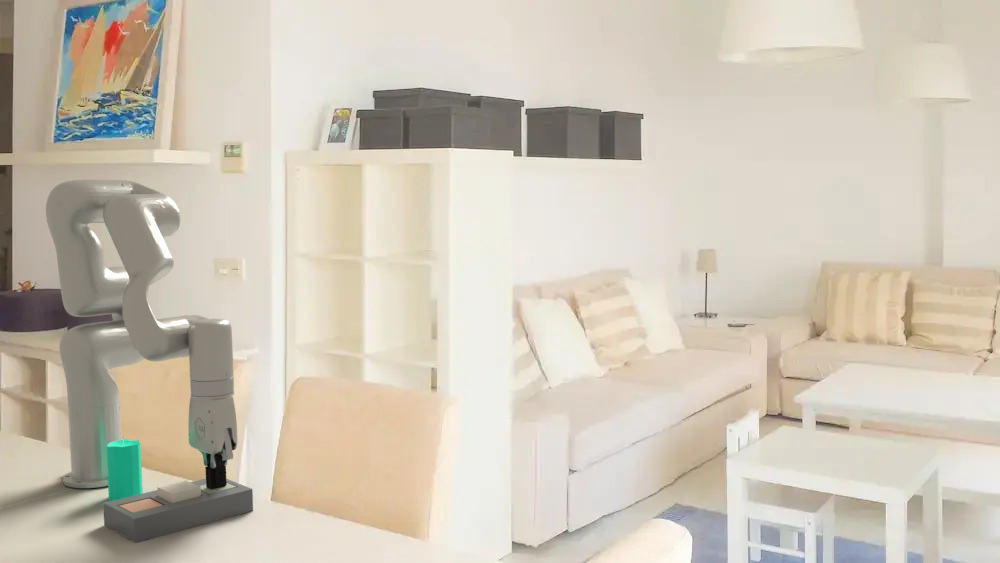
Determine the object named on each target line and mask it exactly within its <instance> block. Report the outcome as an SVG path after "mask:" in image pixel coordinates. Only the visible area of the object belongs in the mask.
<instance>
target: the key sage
mask: <svg viewBox="0 0 1000 563" xmlns="http://www.w3.org/2000/svg"><path fill="white" fill-rule="evenodd" d="M200 487H201V491H202V492H205V493H207V494H212V493H216V492H220V491H224V490H228V489H232V488H236V486H234V485H231V484H229V483H227V485H226V486H225V487H221V488H216V489H210V488H207V487H206V484H205V485H201V486H200Z"/></svg>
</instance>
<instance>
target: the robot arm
mask: <svg viewBox="0 0 1000 563" xmlns="http://www.w3.org/2000/svg"><path fill="white" fill-rule="evenodd" d="M45 218H46V222H47V226H48V229H49V233H50V235H51V238H52V240H53V244H54V248H55V251H56V260H57V270H58V277H59V286H60V294H61V299H62V300H61V301H62V304H63V307H64V309H65V311H66V312H67V314H69V315H70V316H73V317H75V318H76V317H78V318H89V317H97V316H106V315H111V318H112V320H108V321H97V322H90V323H84V324H80V325H77V326H73V327H72V328H70V329H68V330H67V331H66V332H65V333H63V334H62V336H61V338H60V341H59V345H58V346H59V356H60V359H61V363H62V368H63V370H64V371H63V372H64V376H65V377H64V378H65V384H66V394H67V408H68V409H67V410H68V425H69V426H68V427H69V428H68V429H69V449H70V452H69V453H70V469H71V471H70V472H68V473H66V474H65V475H64V476H63V478H62V481H63V485H64V486H66V487H69V488H74V489H97V488H103V487H104V488H105V487H108V469H107V445H108V444H109V443H111V442H114V441H118V440H122V428H121V427H122V422H121V404H120V403H121V402H120V391H119V388H118V385H117V383H116V381H115V380H114V379H113V377H112V376H111V375H110V373H109V372H108V371H109V370H111V369H115V368H122V367H126V366H130V365H135V364H138V363H140V362H142V361H143V360H144V359H145V360H148V361H149V362H163V361H169V360H175V359H179V358H186V357H189V358H188V359H189V381H190V385H189V386H190V387H189V388H190V398H189V399H190V400H189V407H188V444H189V445H190V447H192V448H193V449H195V450H197V451H199V452H200V453H201V455H202V457H203V458H202V459H203V460H202V461H203V465H204V468H205V479H206V487H207V488H210V489H216V488H221V487H225V486H226V485H227V482H226V479H227V465H228V461H229V460H233V459H234V453H233V451H234V450H236V449H237V447H238V436H239V435H238V424H237V414H236V413H237V412H236V407H235V406H236V405H235V400H234V399H235V398H234V395H235V382H234V380H235V379H234V358H233V357H234V356H233V355H234V354H233V330H232V325H231V323H230V322H229V320H226V319H224V318H208V317H205V316H202V315H197V314H189V315H187V314H186V315H180V316H179V315H178V316H173V317H166V318H165V317H164V318H158V319H157V318H156V316H155V314H154V312H153V310H152V308H151V305H150V302H149V296H148V292H149V287H150V286H152V285H153V284H154V283H155V284H156V282H158V281H160V280H161V279H163V278H164V277H166V276H167V275H168V274H169V273H170V272H171V271H172V269H173V268H174V265H175V264H174V258H173V256H172V254H171V252H170V250H169V248H168V246H167V243H166V241H165V240H164V238H167V237H171V236H172V235H174V234H175V233H176V232H178V229H180V224H181V215H180V210H179V208H178V205H177V204H176V203H175V201H174V200H173V199H171V197H170V196H168V195H166V194H165V193H164V192H163V193H162V192H160V191H158V190H155V189H153V188H150V187H148V186H145V185H143V184H142V183H138V182H135V181H131V180H127V179H126V180H122V179H119V180H118V179H107V180H106V179H74V180H67V181H63V182H61V183H58V184H57V185H55V186H54V187H53V188H52V190H50V192H49V194H48V196H47V200H46V204H45ZM88 224H89V225H90V224H104V225H105V227H106V229H107V232H108V233H109V235H110V238H111V240H112V242H113V244H114V247H115V249H116V252H117V253H118V256H119V258H120V260H121V263H122V265H123V266H106V262H105V258H104V249H103V244H102V242H101V241H100V239H99V238H98V236H97V235H96V233H95V232H94V231H93V230H92V229H91V228H90V227H89V226H88Z"/></svg>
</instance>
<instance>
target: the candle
mask: <svg viewBox="0 0 1000 563" xmlns="http://www.w3.org/2000/svg"><path fill="white" fill-rule="evenodd" d="M124 437H125V435H124V434H123V435H122V439H121V440H118V441H114V442H111V443H109V444H108V445H107V469H108V486H107V488H108V489H107V492H108V500H109V501H113V500H117V499H122V498H126V497H130V496H134V495H139V494H143V493H144V492H143V470H142V449H141V448H142V446H141V442H140V440H138V439H136V440H130V439H125V438H124Z"/></svg>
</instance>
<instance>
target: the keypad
mask: <svg viewBox="0 0 1000 563" xmlns="http://www.w3.org/2000/svg"><path fill="white" fill-rule="evenodd" d="M190 482H191V483H193V484H195V485H198V486H201V485H205V484H206V478H202V479H198V480H195V481H190ZM226 482H227V483H229V484H231V485H234V486H236V488H232V489H228V490H224V491H220V492H216V493H212V494H207V493H205V492H202V491H201V496H200V497H196V498H192V499H188V500H184V501H180V502H175V503H169V502H167V501H165V500H163V499H161V498H159V497H158V489H156V490H152V491H147V492H143V494H139V495H134V496H130V497H126V498H122V499H117V500H113V501H110V500H109V501H105V502H103V503H102V504H103V505H102V506H103V524H104V525H103V526H104V527H107V528H108V529H110V530H112V531H114V532H116V533H118V534H120V535H121V536H123V537H125V538H126V539H129V540H130V541H132V542H133V543H139V542H142V541H147V540H150V539H153V538H158V537H161V536H163V535H168V534H171V533H174V532H175V533H176V532H179V531H182V530H187V529H190V528H194V527H198V526H201V525H205V524H209V523H212V522H216V521H219V520H224V519H227V518H231V517H235V516H237V515H241V514H245V513H249V512H252V511H254V503H253V502H254V500H253V499H254V497H253V495H254V494H253V488H251V487H249V486H245V485H243V484H241V483H238V482H236V481H233V480H230V479H228V478H226ZM145 499H151V500H154V501H156V502H158V503H160V504H162V505H163V506H159V507H155V508H151V509H147V510H143V511H139V512H135V513H131V512H129V511H127V510H125V509H123V508H121V507H119V506H120V505H124V504H128V503H132V502H136V501H140V500H145Z"/></svg>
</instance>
